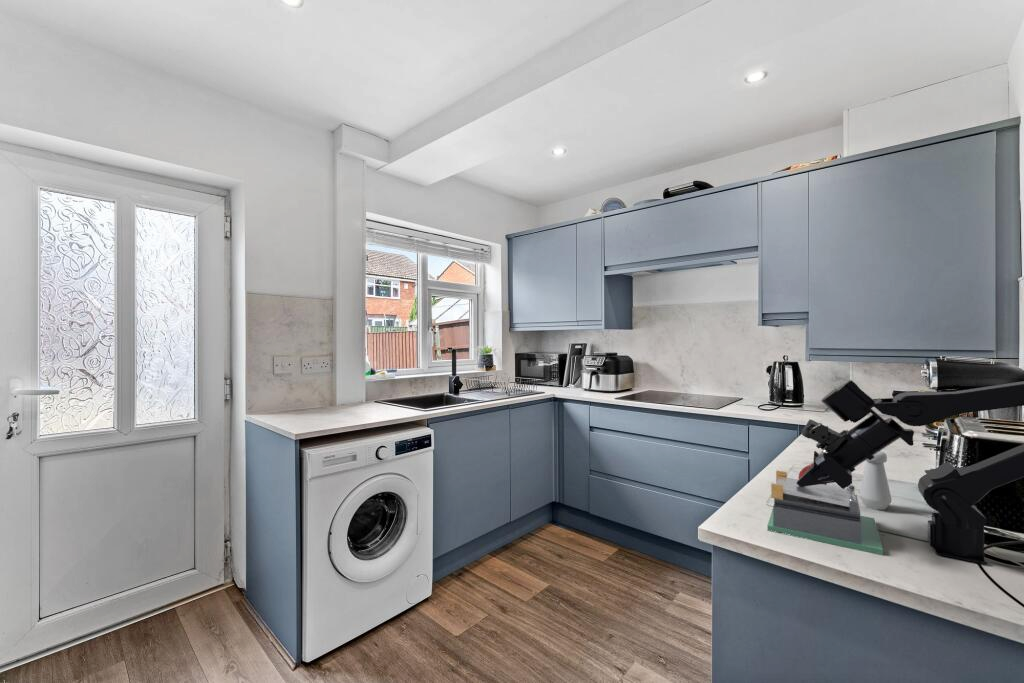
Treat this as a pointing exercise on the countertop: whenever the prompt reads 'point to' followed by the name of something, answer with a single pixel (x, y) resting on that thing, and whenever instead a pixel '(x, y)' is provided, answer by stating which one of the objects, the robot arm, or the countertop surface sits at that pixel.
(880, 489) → the salt shaker
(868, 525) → the processor board
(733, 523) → the countertop surface
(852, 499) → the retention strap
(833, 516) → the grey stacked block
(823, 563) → the countertop surface
